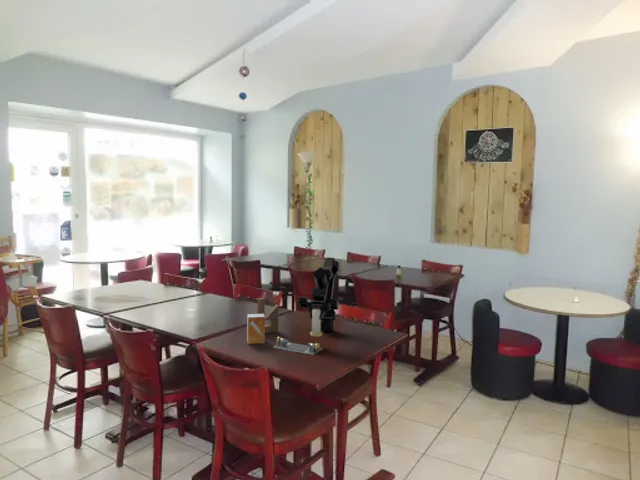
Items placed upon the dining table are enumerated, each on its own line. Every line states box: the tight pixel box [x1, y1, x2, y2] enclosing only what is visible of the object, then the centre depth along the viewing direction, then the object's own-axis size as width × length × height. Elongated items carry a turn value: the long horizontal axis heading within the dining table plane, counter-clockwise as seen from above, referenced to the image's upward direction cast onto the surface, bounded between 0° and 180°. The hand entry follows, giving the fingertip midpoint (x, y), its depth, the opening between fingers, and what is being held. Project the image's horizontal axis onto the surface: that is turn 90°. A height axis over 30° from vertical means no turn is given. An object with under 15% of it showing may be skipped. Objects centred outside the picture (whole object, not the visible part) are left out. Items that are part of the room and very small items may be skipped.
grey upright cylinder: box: [309, 308, 323, 338], centre depth 220 cm, size 6×6×12 cm
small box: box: [246, 313, 266, 345], centre depth 226 cm, size 8×6×13 cm
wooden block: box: [256, 297, 279, 334], centre depth 241 cm, size 4×11×18 cm, turn 113°
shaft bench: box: [272, 336, 323, 356], centre depth 217 cm, size 21×9×4 cm, turn 64°
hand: (315, 318), depth 218 cm, fingers closed on grey upright cylinder, 4 cm apart
